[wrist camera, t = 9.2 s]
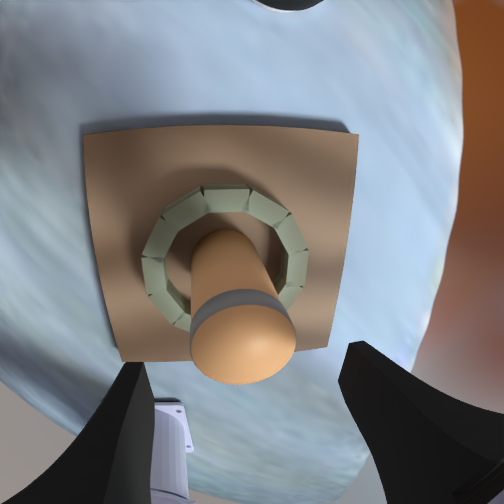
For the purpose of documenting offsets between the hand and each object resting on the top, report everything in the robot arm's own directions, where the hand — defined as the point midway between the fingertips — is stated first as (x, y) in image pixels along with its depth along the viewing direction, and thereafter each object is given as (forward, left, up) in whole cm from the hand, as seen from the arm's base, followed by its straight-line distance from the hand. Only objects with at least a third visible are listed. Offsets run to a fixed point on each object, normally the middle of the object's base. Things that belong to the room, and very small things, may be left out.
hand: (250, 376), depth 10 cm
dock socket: (0, 0, -10) cm, 10 cm away
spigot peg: (0, 0, -9) cm, 9 cm away
